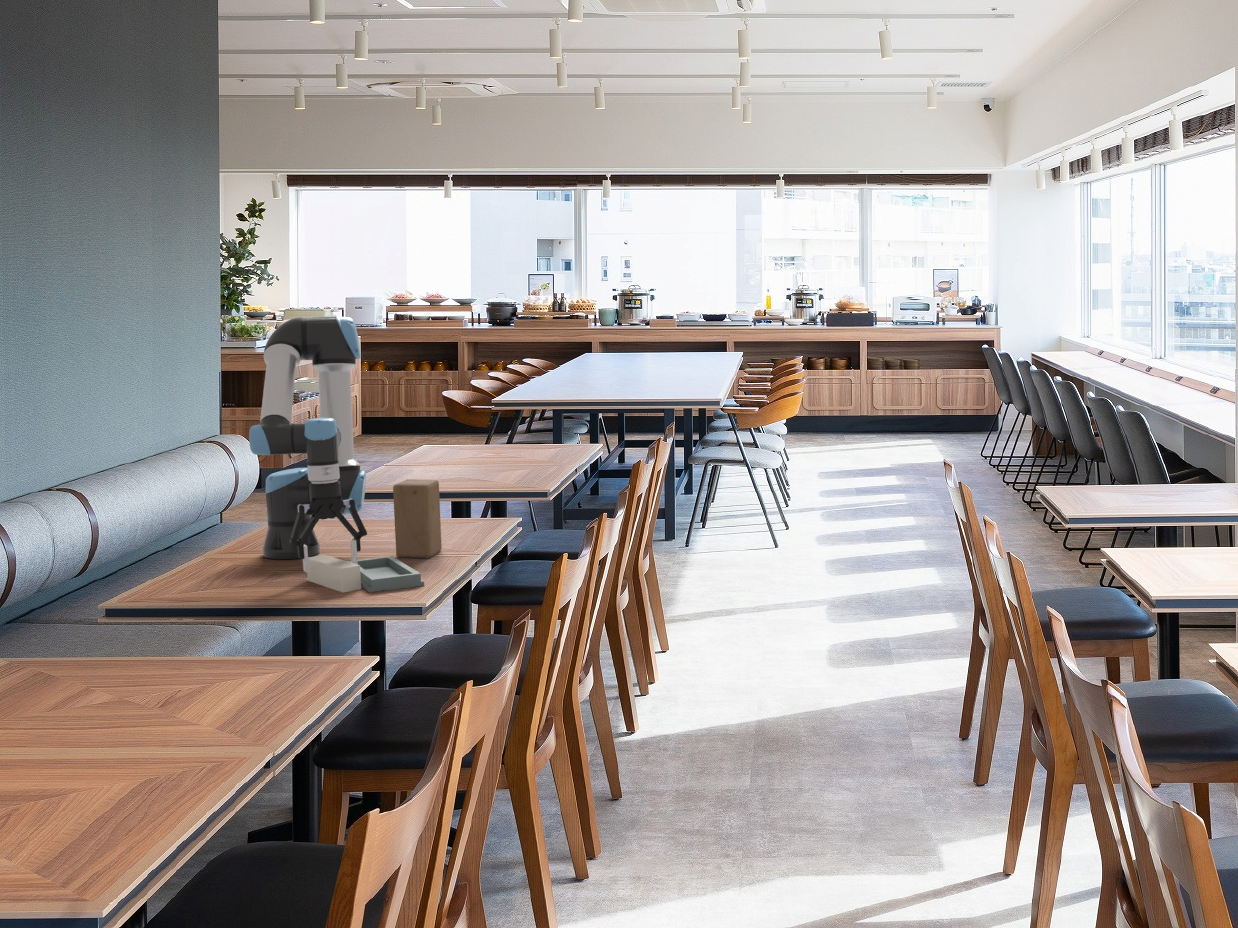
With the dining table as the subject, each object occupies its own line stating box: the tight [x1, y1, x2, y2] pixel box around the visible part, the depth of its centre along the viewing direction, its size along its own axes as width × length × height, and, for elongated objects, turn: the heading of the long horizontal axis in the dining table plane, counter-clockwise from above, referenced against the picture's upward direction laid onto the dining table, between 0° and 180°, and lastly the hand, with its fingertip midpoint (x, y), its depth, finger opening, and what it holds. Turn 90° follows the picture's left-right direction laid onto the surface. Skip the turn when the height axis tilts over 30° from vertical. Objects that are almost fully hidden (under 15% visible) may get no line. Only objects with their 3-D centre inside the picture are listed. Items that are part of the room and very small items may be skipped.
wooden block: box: [392, 478, 442, 559], centre depth 336 cm, size 10×10×20 cm
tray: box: [346, 555, 425, 593], centre depth 308 cm, size 24×14×3 cm, turn 27°
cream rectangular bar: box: [306, 554, 362, 593], centre depth 304 cm, size 18×5×6 cm, turn 41°
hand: (330, 568), depth 308 cm, fingers open, 11 cm apart
